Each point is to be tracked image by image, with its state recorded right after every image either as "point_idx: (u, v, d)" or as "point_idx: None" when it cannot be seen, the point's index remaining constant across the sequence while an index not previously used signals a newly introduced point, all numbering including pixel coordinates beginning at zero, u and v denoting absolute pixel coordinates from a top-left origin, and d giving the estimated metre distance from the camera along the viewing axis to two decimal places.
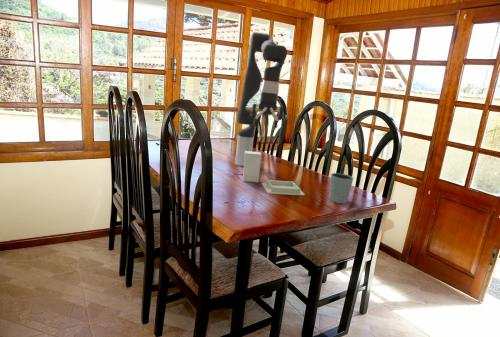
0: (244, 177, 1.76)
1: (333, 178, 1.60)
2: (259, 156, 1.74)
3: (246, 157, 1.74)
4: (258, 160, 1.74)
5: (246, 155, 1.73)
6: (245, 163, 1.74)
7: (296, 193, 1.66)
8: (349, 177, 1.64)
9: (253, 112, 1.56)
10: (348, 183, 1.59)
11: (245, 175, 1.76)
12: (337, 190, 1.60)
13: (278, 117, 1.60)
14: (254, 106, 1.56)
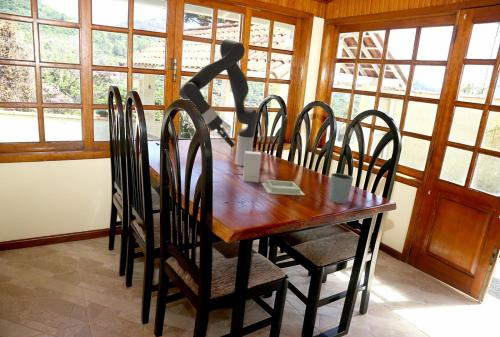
0: (244, 177, 1.76)
1: (333, 178, 1.60)
2: (259, 156, 1.74)
3: (246, 157, 1.74)
4: (258, 160, 1.74)
5: (246, 155, 1.73)
6: (245, 163, 1.74)
7: (296, 193, 1.66)
8: (349, 177, 1.64)
9: None
10: (348, 183, 1.59)
11: (245, 175, 1.76)
12: (337, 190, 1.60)
13: (226, 138, 1.66)
14: None
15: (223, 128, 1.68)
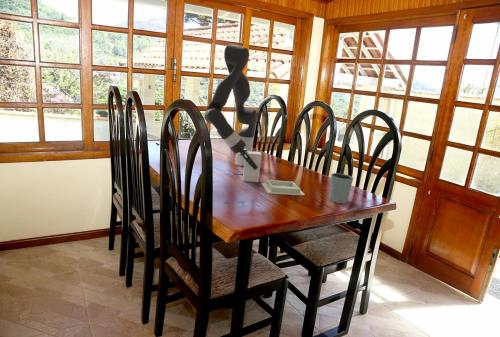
0: (244, 177, 1.76)
1: (333, 178, 1.60)
2: (259, 156, 1.74)
3: None
4: (258, 160, 1.74)
5: None
6: (245, 163, 1.74)
7: (296, 193, 1.66)
8: (349, 177, 1.64)
9: None
10: (348, 183, 1.59)
11: (245, 175, 1.76)
12: (337, 190, 1.60)
13: None
14: None
15: (246, 151, 1.73)
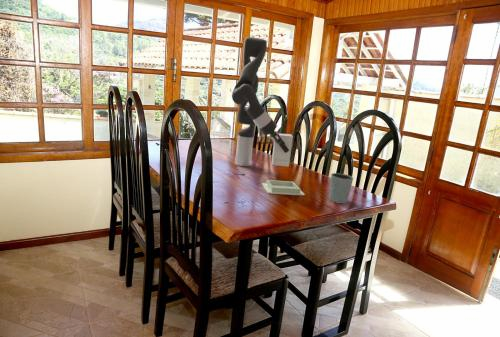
0: (274, 161, 1.65)
1: (333, 178, 1.60)
2: (290, 138, 1.63)
3: None
4: (290, 143, 1.63)
5: None
6: (275, 145, 1.64)
7: (296, 193, 1.66)
8: (349, 177, 1.64)
9: None
10: (348, 183, 1.59)
11: (275, 159, 1.65)
12: (337, 190, 1.60)
13: None
14: (269, 134, 1.70)
15: (277, 132, 1.62)
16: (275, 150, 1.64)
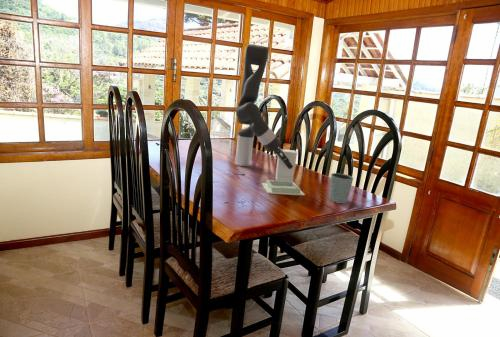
0: (278, 177, 1.66)
1: (333, 178, 1.60)
2: (294, 154, 1.64)
3: None
4: (294, 159, 1.64)
5: None
6: (279, 162, 1.65)
7: (296, 193, 1.66)
8: (349, 177, 1.64)
9: None
10: (348, 183, 1.59)
11: (279, 175, 1.66)
12: (337, 190, 1.60)
13: (285, 160, 1.62)
14: None
15: (281, 149, 1.63)
16: (279, 166, 1.65)
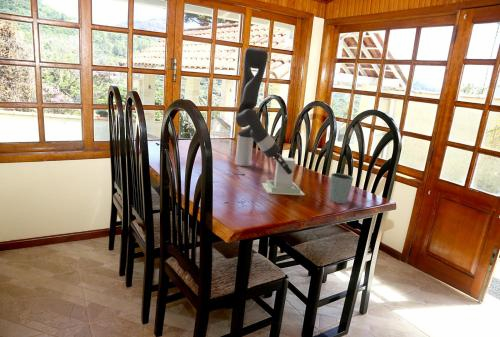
0: (277, 185, 1.68)
1: (333, 178, 1.60)
2: (293, 163, 1.65)
3: None
4: (292, 167, 1.66)
5: None
6: (278, 170, 1.66)
7: (296, 193, 1.66)
8: (349, 177, 1.64)
9: None
10: (348, 183, 1.59)
11: (278, 183, 1.67)
12: (337, 190, 1.60)
13: (284, 166, 1.62)
14: None
15: (280, 155, 1.64)
16: (278, 175, 1.66)
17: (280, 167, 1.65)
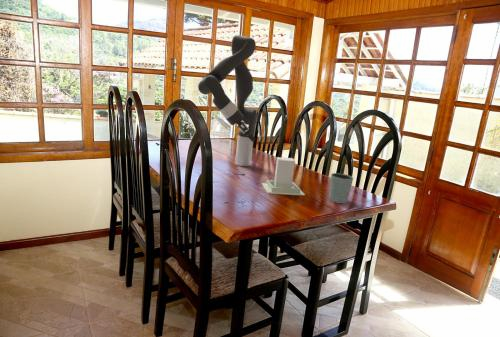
0: (277, 185, 1.68)
1: (333, 178, 1.60)
2: (293, 163, 1.65)
3: (279, 164, 1.65)
4: (292, 167, 1.66)
5: (279, 162, 1.65)
6: (278, 170, 1.66)
7: (296, 193, 1.66)
8: (349, 177, 1.64)
9: None
10: (348, 183, 1.59)
11: (278, 183, 1.67)
12: (337, 190, 1.60)
13: (247, 132, 1.64)
14: None
15: (243, 122, 1.66)
16: (278, 175, 1.66)
17: (280, 167, 1.65)
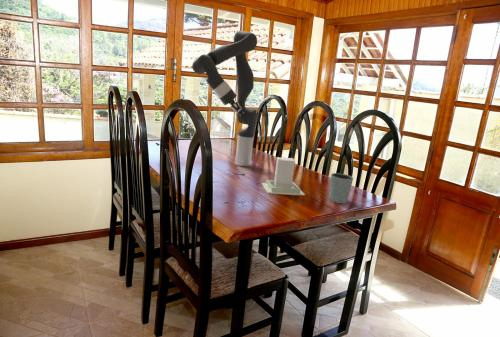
0: (277, 185, 1.68)
1: (333, 178, 1.60)
2: (293, 163, 1.65)
3: (279, 164, 1.65)
4: (292, 167, 1.66)
5: (279, 162, 1.65)
6: (278, 170, 1.66)
7: (296, 193, 1.66)
8: (349, 177, 1.64)
9: None
10: (348, 183, 1.59)
11: (278, 183, 1.67)
12: (337, 190, 1.60)
13: (240, 112, 1.66)
14: (230, 104, 1.76)
15: (237, 102, 1.68)
16: (278, 175, 1.66)
17: (280, 167, 1.65)
